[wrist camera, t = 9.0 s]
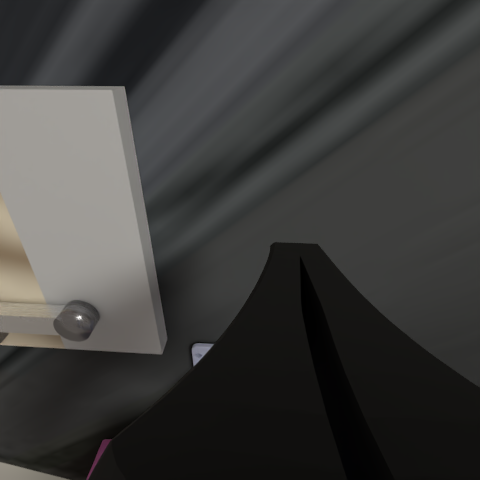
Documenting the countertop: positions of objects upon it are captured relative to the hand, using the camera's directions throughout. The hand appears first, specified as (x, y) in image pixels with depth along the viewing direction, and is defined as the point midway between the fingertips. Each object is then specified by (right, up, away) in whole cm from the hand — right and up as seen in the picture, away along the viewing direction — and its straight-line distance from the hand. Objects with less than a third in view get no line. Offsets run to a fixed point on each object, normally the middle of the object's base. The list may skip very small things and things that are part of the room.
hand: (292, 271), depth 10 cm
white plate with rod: (-11, +1, +11) cm, 16 cm away
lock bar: (-17, -4, +13) cm, 22 cm away
